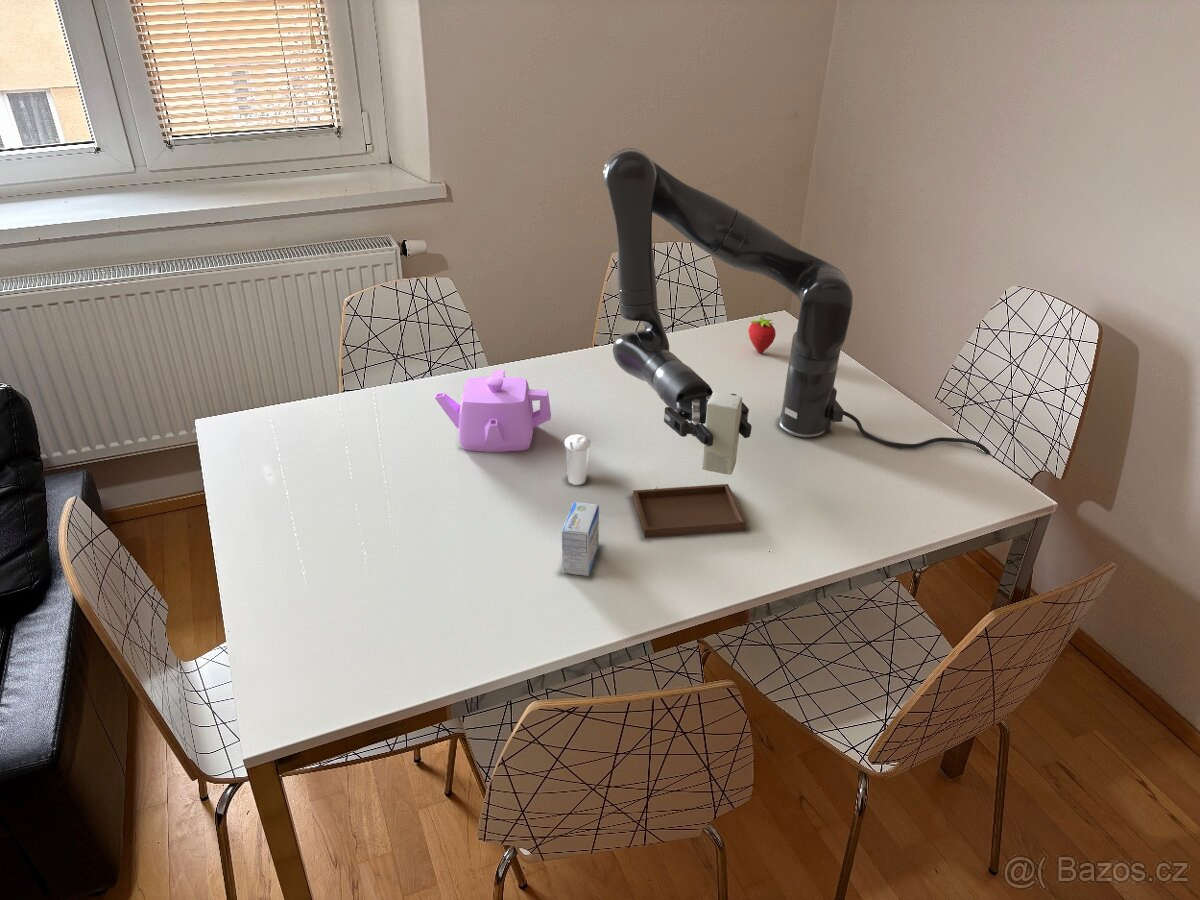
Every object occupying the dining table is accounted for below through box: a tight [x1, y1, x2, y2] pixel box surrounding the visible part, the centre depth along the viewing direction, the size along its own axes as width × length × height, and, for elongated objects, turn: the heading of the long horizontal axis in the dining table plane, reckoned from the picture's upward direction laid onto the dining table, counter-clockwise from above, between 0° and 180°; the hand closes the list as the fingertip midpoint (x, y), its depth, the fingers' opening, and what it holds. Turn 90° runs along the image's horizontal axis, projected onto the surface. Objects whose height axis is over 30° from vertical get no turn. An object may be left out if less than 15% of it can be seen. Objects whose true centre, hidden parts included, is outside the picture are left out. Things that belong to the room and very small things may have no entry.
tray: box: [632, 483, 747, 539], centre depth 152 cm, size 17×11×2 cm, turn 98°
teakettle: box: [434, 369, 552, 453], centre depth 169 cm, size 17×17×12 cm
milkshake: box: [564, 434, 591, 486], centre depth 157 cm, size 4×5×10 cm
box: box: [701, 391, 743, 476], centre depth 143 cm, size 5×4×13 cm
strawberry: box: [748, 313, 777, 355], centre depth 203 cm, size 6×8×10 cm
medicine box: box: [560, 501, 600, 577], centre depth 139 cm, size 8×4×9 cm, turn 168°
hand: (730, 437), depth 141 cm, fingers closed on box, 6 cm apart
